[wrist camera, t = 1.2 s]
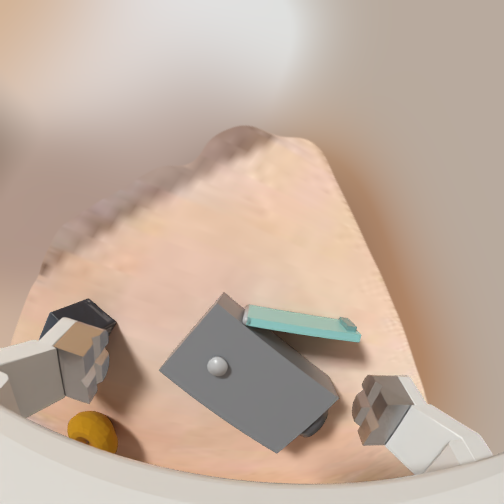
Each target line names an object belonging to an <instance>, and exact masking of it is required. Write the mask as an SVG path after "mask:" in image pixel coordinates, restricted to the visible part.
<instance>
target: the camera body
mask: <svg viewBox="0 0 504 504" xmlns="http://www.w3.org/2000/svg"><path fill="white" fill-rule="evenodd" d="M244 311H245V309H244V308H242V307H241V306H240V305H239V304H238V303H236V302H235V301H234V300H233V299H232V298H230V297H229V296H228V295H227V294H226V293H224V292H223V294H222V295H221V296H220V297H219V298H218V300H217V301H216V302H215V303H214V304H213V305H212V307H211V308H210V309H209V310H208V311H207V312H206V313H205V315H204V316H203V317H202V318H201V319H200V320H199V322H198V323H197V324H196V325H195V326H194V327H193V329H192V330H191V331H190V332H189V333H188V334H187V336H186V337H185V338H184V339H183V340H182V341H181V343H180V344H179V345H178V346H177V347H176V348H175V350H174V351H173V352H172V353H171V355H170V356H169V357H168V359H167V360H166V361H165V363H164V364H163V365H162V367H161V368H160V369H159V371H160V372H161V373H163V374H164V375H165V376H166V377H167V378H169V379H170V380H171V381H172V382H174V383H175V384H176V385H178V386H179V387H180V388H181V389H183V390H184V391H185V392H187V393H188V394H189V395H190V396H192V397H193V398H194V399H196V400H197V401H198V402H200V403H201V404H203V405H204V406H205V407H207V408H208V409H209V410H211V411H212V412H214V413H215V414H216V415H218V416H219V417H221V418H222V419H224V420H225V421H227V422H228V423H229V424H231V425H232V426H234V427H235V428H237V429H238V430H240V431H241V432H243V433H244V434H246V435H248V436H249V437H251V438H252V439H254V440H255V441H257V442H259V443H260V444H262V445H263V446H265V447H267V448H268V449H270V450H272V451H273V452H275V453H278V452H279V451H281V450H282V449H283V448H284V447H285V446H287V445H288V444H289V443H290V442H292V441H293V440H294V439H295V438H296V437H297V436H299V435H301V436H303V437H309V436H312V435H313V434H315V433H316V432H317V431H318V430H319V429H320V428H321V427H322V425H323V424H324V422H325V420H326V418H327V415H328V409H329V408H330V407H331V406H332V405H333V404H334V403H335V402H336V401H337V400H338V399H339V397H338V395H337V393H336V390H335V388H334V386H333V384H332V382H331V380H330V378H329V376H328V375H326V374H325V373H324V372H323V371H321V370H320V369H319V368H317V367H316V366H315V365H313V364H312V363H311V362H310V361H308V360H307V359H306V358H304V357H303V356H302V355H301V354H299V353H298V352H297V351H296V350H294V349H293V348H292V347H290V346H289V345H288V344H287V343H285V342H284V341H283V340H282V339H280V338H279V337H278V336H277V335H275V334H274V333H273V332H272V331H270V330H269V329H265V328H259V327H254V326H248V325H244V324H243V316H244Z"/></svg>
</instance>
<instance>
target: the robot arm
mask: <svg viewBox="0 0 504 504" xmlns="http://www.w3.org/2000/svg"><path fill="white" fill-rule="evenodd" d="M108 342H109V341H108V332H107V331H106V330H104V329H101V328H98V327H95V326H92V325H88V324H85V323H82V322H78V321H76V320H73V319H70V318H67V317H64V318H61V319H60V320H59V321H58V322H57V323H56V324H55V325H54V326H53V327H52V328H51V329H50V330H49V331H48V332H47V333H46V334H45V335H44V336H43V337H42V338H41V339H40V340H39V341H36V340H32V341H28V342H24V343H20V344H16V345H13V346H9V347H5V348H1V349H0V504H504V452H503V453H500V454H497V455H493V454H492V452H491V451H490V449H489V448H488V446H487V445H486V443H485V442H484V440H483V439H482V437H481V436H480V435H479V434H478V433H476V432H475V431H473V430H472V429H470V428H468V427H466V426H465V425H463V424H462V423H460V422H458V421H457V420H455V419H454V418H452V417H450V416H449V415H447V414H445V413H444V412H442V411H441V410H439V409H437V408H436V407H434V406H432V405H430V404H429V405H428V404H427V403H426V401H425V400H424V398H423V397H422V395H421V393H420V392H419V390H418V389H417V387H416V386H415V384H414V383H413V381H412V379H411V378H410V377H409V376H407V375H394V376H384V375H368V376H367V377H366V378H365V379H364V381H363V383H362V387H363V390H362V391H361V392H360V393H358V394H357V395H356V397H355V400H354V402H353V407H352V416H353V419H354V422H356V423H357V424H358V425H359V426H360V427H359V429H358V434H359V436H360V439H361V442H362V445H385V447H386V448H387V449H388V450H390V451H391V452H392V453H393V454H394V455H395V456H396V457H397V458H398V459H399V460H400V461H401V462H402V463H403V464H404V465H405V466H406V467H407V468H408V469H409V470H410V471H411V472H412V473H413V474H414V475H412V476H406V477H400V478H392V479H384V480H376V481H365V482H352V483H333V484H287V483H267V482H254V481H244V480H234V479H226V478H219V477H212V476H206V475H200V474H194V473H189V472H184V471H179V470H174V469H169V468H165V467H160V466H156V465H152V464H148V463H144V462H141V461H137V460H133V459H130V458H126V457H123V456H120V455H116V454H113V453H110V452H107V451H104V450H101V449H98V448H95V447H93V446H90V445H87V444H84V443H82V442H79V441H76V440H74V439H71V438H69V437H66V436H64V435H62V434H59V433H57V432H55V431H52V430H50V429H48V428H45V427H43V426H41V425H39V424H37V423H35V422H33V421H31V420H29V419H27V417H29V416H31V415H33V414H35V413H36V412H38V411H40V410H42V409H44V408H46V407H48V406H50V405H51V404H53V403H55V402H57V401H59V400H61V399H63V398H64V397H65V396H67V397H70V398H73V399H76V400H79V401H82V402H85V403H88V404H90V402H91V401H92V399H93V397H94V396H95V394H96V392H97V391H98V390H97V384H98V383H100V382H103V380H104V378H105V377H106V374H107V371H108V367H109V353H108V352H107V350H106V348H105V347H106V345H107V344H108Z"/></svg>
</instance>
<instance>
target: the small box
mask: <svg viewBox="0 0 504 504" xmlns="http://www.w3.org/2000/svg"><path fill="white" fill-rule="evenodd" d="M64 317H67V318H70V319H73V320H76V321H78V322H82V323H85V324H88V325H92V326H95V327H98V328H101V329H104V330H106V331H107V332H108V336H109V335H110V333H111V331H112V329H113V327H114V326H115V324H116V321H115V320H114V319H112V318H111V317H109V315H107V314H106V313H105V312H104V311H102V310H101V309H100V308H99V307H98V306H97V305H96V304H95V303H93V302H92V301H91V300H90V299H86V300H83V301H80V302H78V303H75V304H72V305H70V306H67V307H64V308H61V309H59V310H56V311H53V312H50V314H49V316H48V318H47V321H46V323H45V326H44V328H43V331H42V333H41V336H40V338H39V340H40V339H41V338H42V337H43V336H44V335H45V334H46V333H47V332H48V331H49V330H50V329H51V328H52V327H53V326H54V325H55V324H56V323H57V322H58V321H59V320H60V319H61V318H64Z"/></svg>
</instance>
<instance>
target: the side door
mask: <svg viewBox="0 0 504 504" xmlns="http://www.w3.org/2000/svg"><path fill="white" fill-rule="evenodd" d="M243 324H244V325H248V326H254V327H259V328H265V329H271V330H277V331H283V332H289V333H295V334H302V335H308V336H315V337H322V338H329V339H337V340H344V341H352V342H360V338H361V334H360V333H359V332H358V331H357V330H356V329H357V327H356V326H355V325H354V324H353V323H352V322H351V321H350V320H349V319H348V318H342V317H340V319H332V318H326V317H319V316H313V315H307V314H300V313H294V312H288V311H282V310H277V309H271V308H265V307H260V306H254V305H246V307H245V311H244V316H243Z"/></svg>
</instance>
